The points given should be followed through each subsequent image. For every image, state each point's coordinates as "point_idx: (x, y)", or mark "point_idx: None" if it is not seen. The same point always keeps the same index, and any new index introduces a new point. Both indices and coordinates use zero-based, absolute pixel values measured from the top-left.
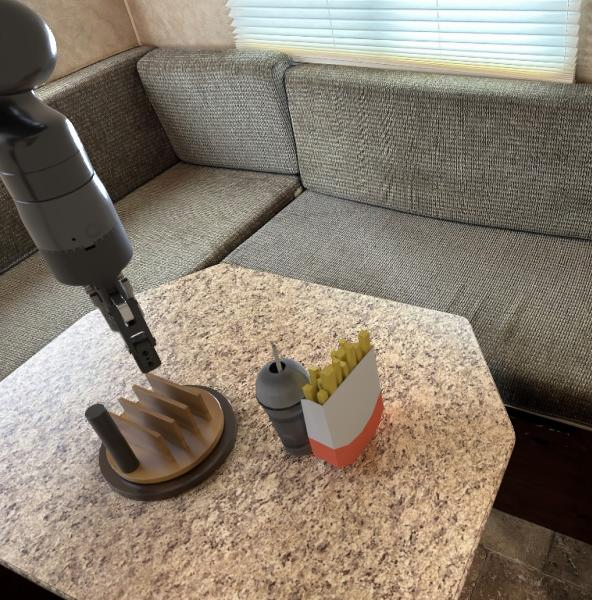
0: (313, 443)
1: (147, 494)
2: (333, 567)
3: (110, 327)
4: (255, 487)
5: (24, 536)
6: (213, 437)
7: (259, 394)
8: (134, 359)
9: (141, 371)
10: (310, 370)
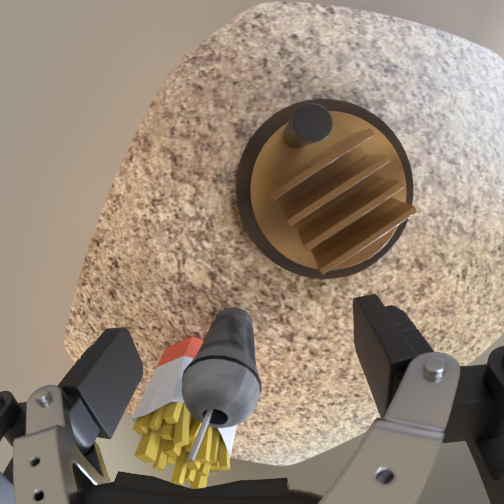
0: (181, 352)
1: (247, 146)
2: (94, 293)
3: (16, 448)
4: (202, 262)
5: (280, 15)
6: (279, 247)
7: (206, 370)
8: (97, 353)
9: (103, 332)
10: (179, 440)
